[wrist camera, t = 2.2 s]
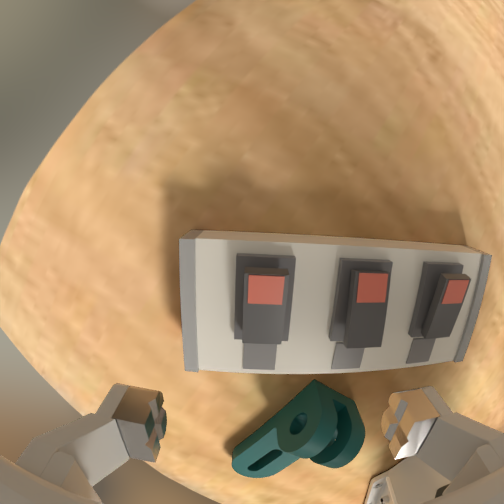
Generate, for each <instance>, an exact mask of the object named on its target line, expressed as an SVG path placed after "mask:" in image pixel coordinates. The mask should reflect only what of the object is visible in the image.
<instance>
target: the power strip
mask: <svg viewBox="0 0 504 504" xmlns="http://www.w3.org/2000/svg"><path fill="white" fill-rule="evenodd" d="M491 257H492V255H490V254H487V253H485V252H482V251H480V250H477V249H474V248H472V247H469V246H463V245H451V244H439V243H426V242H412V241H399V240H384V239H369V238H353V237H337V236H319V235H301V234H282V233H261V232H238V231H214V230H190V231H189V232H187V233H186V234H185V235H183V236H182V237H181V238H179V268H180V299H181V321H182V337H183V352H184V365H185V371H192V372H198V371H199V370H209V371H221V372H237V373H260V374H327V373H349V372H365V371H377V370H388V369H398V368H407V367H415V366H422V365H429V364H436V363H442V362H448V361H454V362H460V361H463V358H464V356H465V353H466V350H467V347H468V345H469V342H470V339H471V336H472V333H473V330H474V326H475V323H476V320H477V317H478V313H479V310H480V306H481V302H482V298H483V294H484V290H485V286H486V282H487V277H488V273H489V268H490V262H491ZM245 267H258V268H282V269H288V271H289V282H288V292H287V301H286V309H285V318H284V326H283V334H282V342H281V344H252V343H242V331H243V299H244V272H245ZM351 270H378V271H388V272H391V280H390V289H389V298H388V306H387V313H386V320H385V327H384V333H383V339H382V345H381V347H371V348H348V349H347V348H346V347H345V346H344V345H343V341H344V333H345V326H346V318H347V309H348V300H349V290H350V279H351ZM441 273H445V274H466V275H467V276H469V277H470V278H471V282H470V285H469V288H468V291H467V294H466V296H465V299H464V302H463V305H462V307H461V310H460V312H459V315H458V318H457V320H456V322H455V325H454V327H453V330H452V332H451V334H450V337H443V338H433V339H425V338H424V337H423V335H422V334H421V331H422V328H423V326H424V323H425V320H426V317H427V315H428V312H429V309H430V306H431V303H432V300H433V297H434V294H435V291H436V288H437V285H438V281H439V278H440V275H441Z"/></svg>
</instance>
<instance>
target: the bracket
mask: <svg viewBox="0 0 504 504" xmlns="http://www.w3.org/2000/svg"><path fill="white" fill-rule="evenodd" d="M364 438H365V427H364V424H363V422H362V419H361V417H360V414H359V412H358V409H357V407H356V404H355V402H354V401H353V400H351V399H349V398H347V397H346V396H344V395H342V394H340V393H338V392H336V391H335V390H333V389H331V388H329V387H327V386H325V385H324V384H322V383H320V382H318V381H317V380H315V379H314V380H313V381H312V382H311V383H310V384H309V385H308V386H306V387H305V388H304V389H303V390H302V391H301V392H300V393H299V394H298V395H297V396H296V397H295V398H294V399H292V400H291V401H290V402H289V403H288V404H287V405H286V406H285V407H284V408H282V409H281V410H280V411H279V412H278V413H277V414H276V415H274V416H273V417H272V418H271V419H270V420H268V421H267V422H266V423H265V424H264V425H263V426H261V427H260V428H259V429H258V430H256V431H255V432H254V433H253V434H251V435H250V436H249V437H248V438H246V439H245V440H244V441H243V442H241V443H240V444H239V445H237V446H236V447H235V448H234V450H233V455H232V468H233V469H234V470H235V471H236V472H237V473H239V474H241V475H243V476H246V477H252V478H263V477H268V476H272V475H274V474H276V473H278V472H280V471H281V470H283V469H284V468H286V467H287V466H289V465H290V464H292V463H293V462H295V461H296V460H298V459H299V458H310V459H311V460H312V461H313V462H315V463H317V464H320V465H323V466H327V467H330V468H339V467H342V466H344V465H346V464H348V463H349V462H350V461H352V460H353V459H354V458H355V456H356V455H357V454H358V452H359V451H360V449H361V447H362V445H363V442H364ZM335 439H336V440H335Z"/></svg>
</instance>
